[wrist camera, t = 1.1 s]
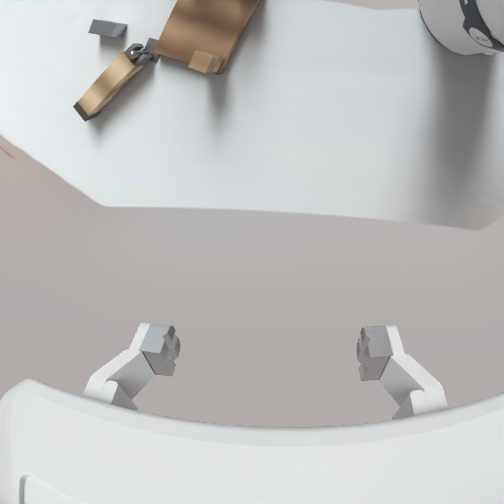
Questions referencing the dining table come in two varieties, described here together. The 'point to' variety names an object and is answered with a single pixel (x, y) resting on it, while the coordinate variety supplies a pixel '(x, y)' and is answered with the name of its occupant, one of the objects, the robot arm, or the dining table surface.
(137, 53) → the hinge bracket
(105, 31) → the block
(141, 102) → the dining table surface
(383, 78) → the dining table surface
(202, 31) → the stool seat
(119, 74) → the hinged leg
